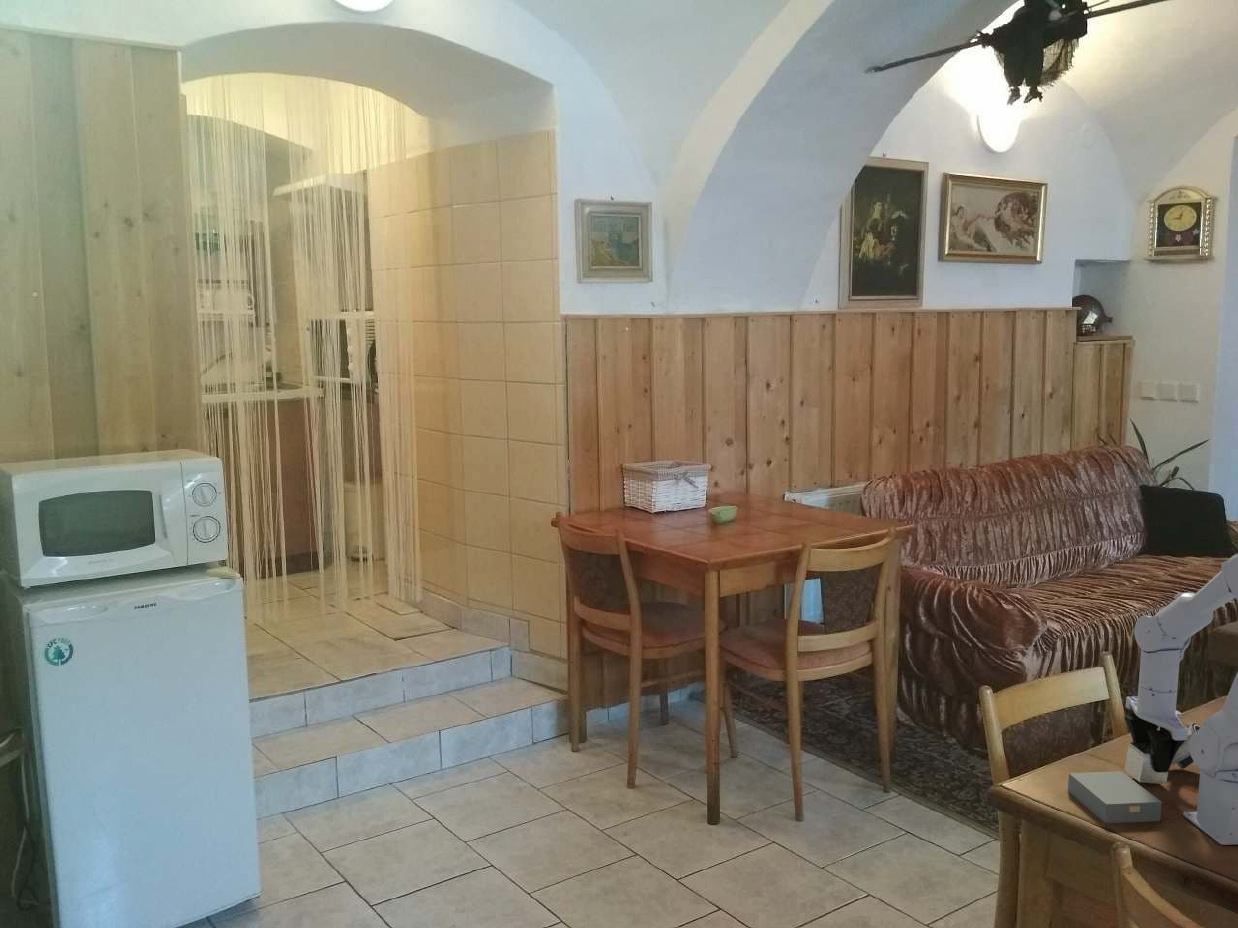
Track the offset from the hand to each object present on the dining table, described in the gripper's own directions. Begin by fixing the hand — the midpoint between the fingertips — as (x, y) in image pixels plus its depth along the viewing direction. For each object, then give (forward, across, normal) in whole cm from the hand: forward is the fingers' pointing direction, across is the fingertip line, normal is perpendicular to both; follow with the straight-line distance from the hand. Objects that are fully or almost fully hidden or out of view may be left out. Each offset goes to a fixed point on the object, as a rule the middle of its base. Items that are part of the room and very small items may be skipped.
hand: (1151, 764), depth 174 cm
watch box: (+3, -8, +11) cm, 14 cm away
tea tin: (+2, 0, +1) cm, 2 cm away
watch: (0, +6, -9) cm, 11 cm away
